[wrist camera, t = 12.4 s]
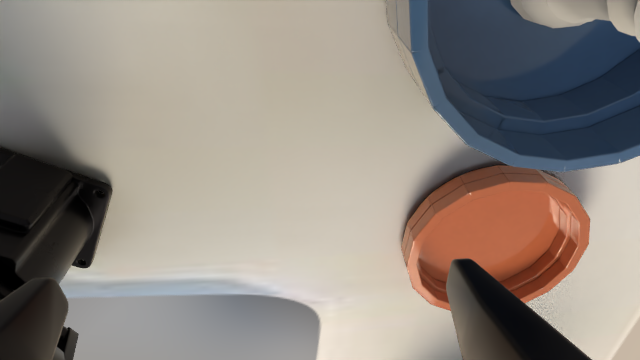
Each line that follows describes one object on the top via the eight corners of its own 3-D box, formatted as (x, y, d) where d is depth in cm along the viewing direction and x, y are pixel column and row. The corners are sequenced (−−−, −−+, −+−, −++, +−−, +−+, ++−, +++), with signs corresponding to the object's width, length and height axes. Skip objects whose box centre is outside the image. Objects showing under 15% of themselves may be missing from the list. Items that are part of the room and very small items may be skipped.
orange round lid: (493, 305, 29) (505, 329, 27) (370, 262, 26) (375, 286, 24) (607, 200, 24) (629, 222, 22) (470, 133, 21) (485, 152, 19)
